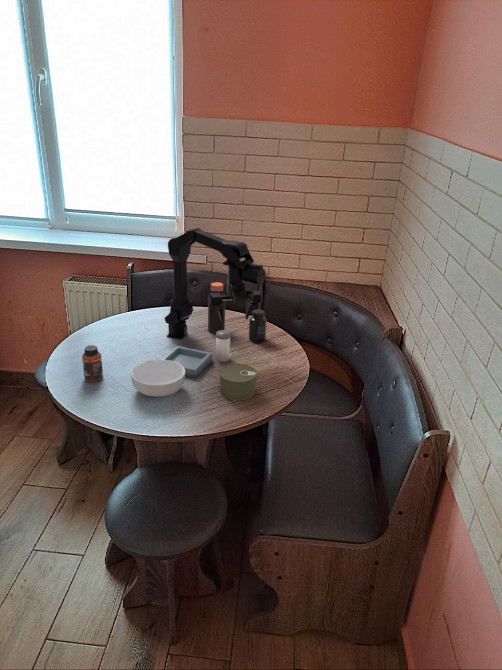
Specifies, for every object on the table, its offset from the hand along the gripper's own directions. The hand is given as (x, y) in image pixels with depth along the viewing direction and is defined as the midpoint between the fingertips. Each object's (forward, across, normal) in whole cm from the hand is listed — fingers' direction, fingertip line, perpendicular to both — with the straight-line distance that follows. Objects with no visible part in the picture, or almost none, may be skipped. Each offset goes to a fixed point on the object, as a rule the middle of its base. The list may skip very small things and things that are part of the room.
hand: (234, 320), depth 179 cm
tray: (+14, -19, -5) cm, 24 cm away
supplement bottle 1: (+14, -50, -8) cm, 52 cm away
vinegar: (+14, -1, +22) cm, 26 cm away
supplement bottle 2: (+14, +13, +10) cm, 21 cm away
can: (+14, -6, -26) cm, 30 cm away
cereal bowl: (+14, -30, -20) cm, 39 cm away
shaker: (+14, -5, -3) cm, 15 cm away
